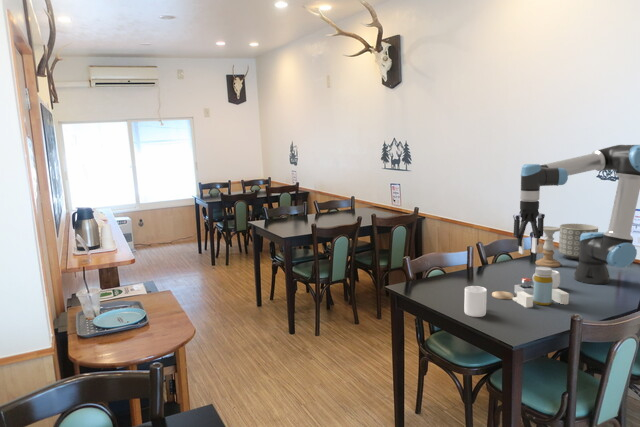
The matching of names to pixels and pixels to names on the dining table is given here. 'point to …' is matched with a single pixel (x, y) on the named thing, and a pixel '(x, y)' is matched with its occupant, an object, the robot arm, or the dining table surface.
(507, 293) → the pad
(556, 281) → the mug
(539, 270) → the bottle
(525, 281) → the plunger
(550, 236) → the candle holder
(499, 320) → the dining table surface
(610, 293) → the dining table surface
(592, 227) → the planter
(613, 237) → the robot arm
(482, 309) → the cup
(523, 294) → the housing
